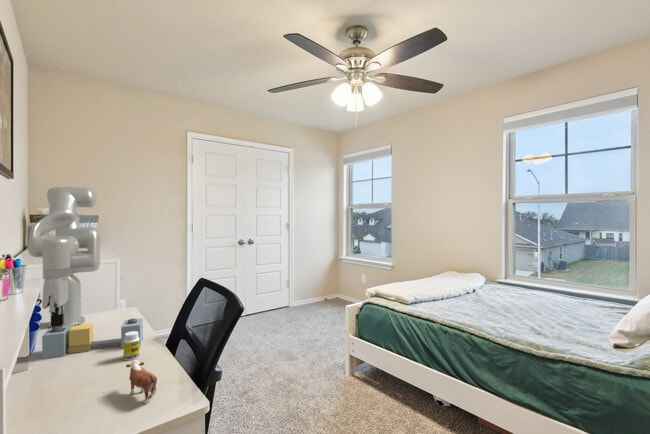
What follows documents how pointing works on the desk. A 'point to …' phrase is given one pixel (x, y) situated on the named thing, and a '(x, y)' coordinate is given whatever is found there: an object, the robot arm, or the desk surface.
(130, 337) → the supplement bottle
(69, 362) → the desk surface
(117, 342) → the rail
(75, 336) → the block
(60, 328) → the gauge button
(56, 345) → the frame
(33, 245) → the robot arm
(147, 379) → the bull figurine
